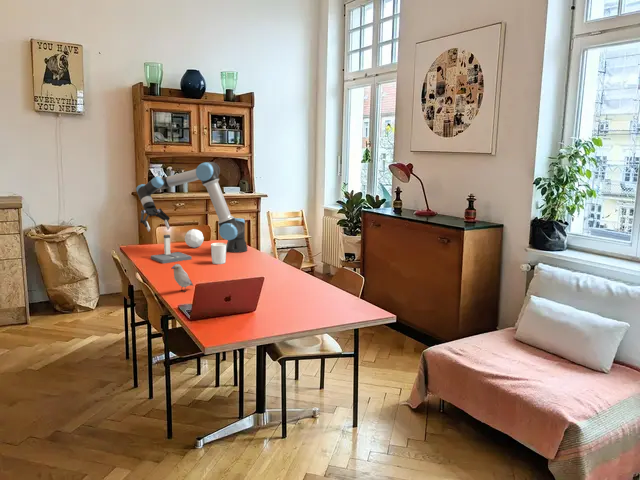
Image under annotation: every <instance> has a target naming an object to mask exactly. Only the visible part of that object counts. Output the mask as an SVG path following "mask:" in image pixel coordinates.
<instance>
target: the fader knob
mask: <svg viewBox="0 0 640 480" xmlns="http://www.w3.org/2000/svg"><path fill="white" fill-rule="evenodd" d="M163 245H164V246H163V249H164V253H163V254H165V255H169V254H170V253H171V235H170V234H163Z"/></svg>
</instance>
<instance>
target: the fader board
mask: <svg viewBox="0 0 640 480" xmlns="http://www.w3.org/2000/svg"><path fill="white" fill-rule="evenodd" d="M150 259H151V260H153V261H156V262H158V263H160V264H168V263H175V262H177V263H178V262H183V260H184V261H189V260H193V259H192V256H191V255H189V254H186V253H183V252H180V251H177V252H176V251H175V252H170V254H169V255H165V254H164V253H160V254H159V253H158V254H154V255H153V254H152V255H150Z"/></svg>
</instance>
